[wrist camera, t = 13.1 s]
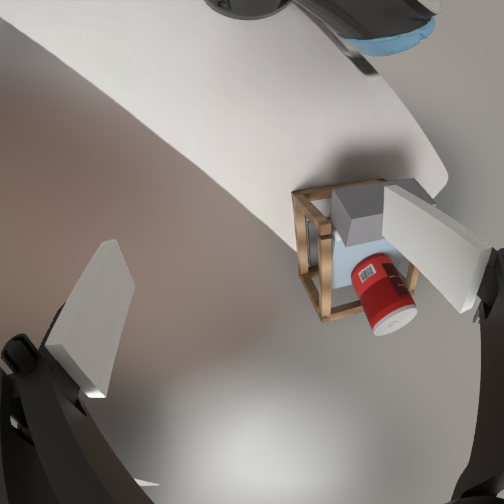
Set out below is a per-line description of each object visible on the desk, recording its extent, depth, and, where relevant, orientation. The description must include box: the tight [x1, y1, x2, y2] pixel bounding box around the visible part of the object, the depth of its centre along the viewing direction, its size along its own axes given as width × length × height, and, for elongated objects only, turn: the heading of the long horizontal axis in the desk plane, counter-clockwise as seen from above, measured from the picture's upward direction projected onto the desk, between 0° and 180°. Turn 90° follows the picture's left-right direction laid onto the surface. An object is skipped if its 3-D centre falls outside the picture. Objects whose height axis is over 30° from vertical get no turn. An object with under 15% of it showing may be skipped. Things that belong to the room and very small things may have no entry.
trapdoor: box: [329, 178, 436, 290], centre depth 41 cm, size 19×15×6 cm
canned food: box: [351, 253, 418, 336], centre depth 41 cm, size 8×8×11 cm
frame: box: [292, 179, 419, 323], centre depth 47 cm, size 18×19×14 cm
